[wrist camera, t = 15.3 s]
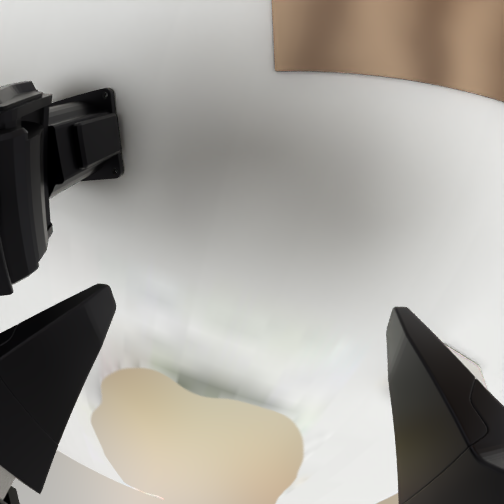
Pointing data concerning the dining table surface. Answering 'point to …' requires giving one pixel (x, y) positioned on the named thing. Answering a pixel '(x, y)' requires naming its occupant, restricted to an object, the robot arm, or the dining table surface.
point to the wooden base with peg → (396, 40)
